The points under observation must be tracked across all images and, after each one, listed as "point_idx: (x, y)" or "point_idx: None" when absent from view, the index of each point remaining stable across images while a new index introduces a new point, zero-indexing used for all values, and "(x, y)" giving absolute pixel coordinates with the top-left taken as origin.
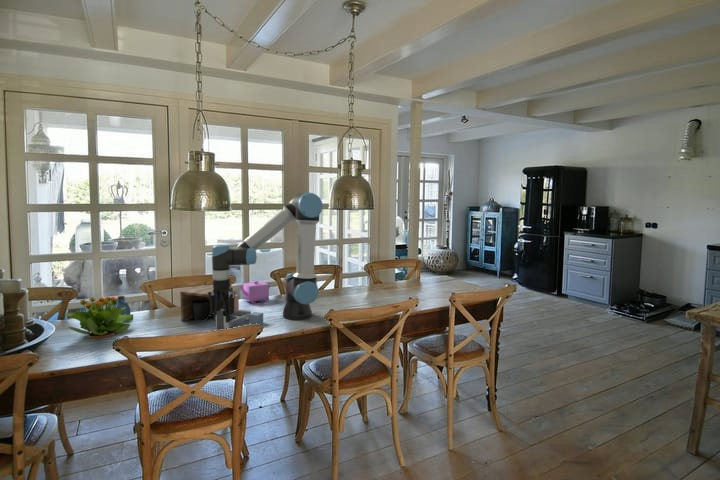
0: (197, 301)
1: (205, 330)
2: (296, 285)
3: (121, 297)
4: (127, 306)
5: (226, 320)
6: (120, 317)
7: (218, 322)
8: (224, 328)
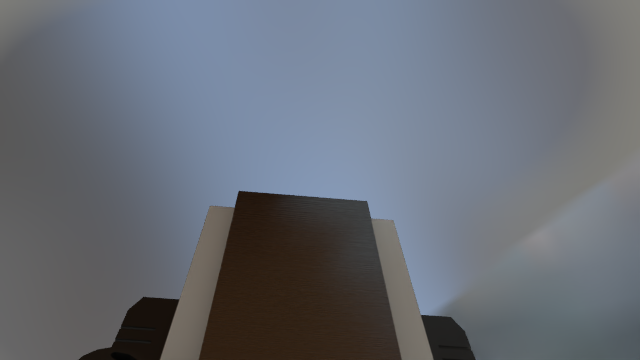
0: None
1: (585, 219)
2: None
3: None
4: None
5: (161, 324)
6: None
7: (339, 267)
8: (219, 217)
